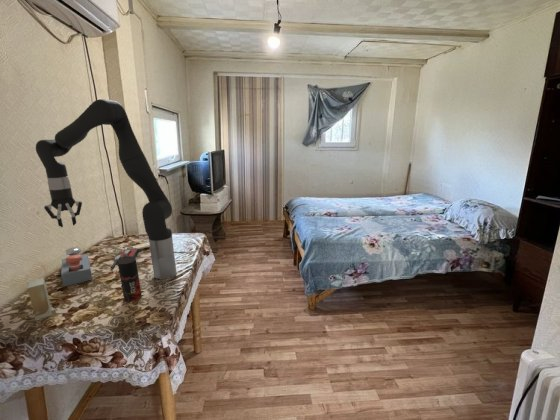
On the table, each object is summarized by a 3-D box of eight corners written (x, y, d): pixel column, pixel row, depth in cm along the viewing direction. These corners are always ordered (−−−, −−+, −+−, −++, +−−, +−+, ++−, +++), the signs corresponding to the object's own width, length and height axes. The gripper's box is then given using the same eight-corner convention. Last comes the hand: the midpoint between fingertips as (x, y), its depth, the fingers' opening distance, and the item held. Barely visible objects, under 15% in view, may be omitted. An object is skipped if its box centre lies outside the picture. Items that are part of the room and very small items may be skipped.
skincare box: (36, 312, 103) (27, 280, 99) (51, 307, 105) (44, 276, 102) (35, 321, 98) (26, 288, 94) (51, 316, 100) (43, 283, 97)
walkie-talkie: (121, 254, 153) (109, 270, 134) (120, 246, 152) (107, 261, 133) (139, 252, 155) (130, 268, 136) (138, 244, 154) (128, 259, 135)
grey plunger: (83, 263, 133) (80, 249, 132) (68, 266, 130) (65, 252, 129) (82, 259, 138) (80, 246, 136) (68, 262, 135) (65, 249, 133)
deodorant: (130, 303, 107) (123, 265, 103) (120, 298, 110) (114, 261, 106) (144, 295, 112) (139, 259, 108) (135, 291, 115) (129, 256, 111)
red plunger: (84, 271, 125) (81, 257, 123) (68, 275, 122) (65, 261, 120) (84, 267, 129) (81, 253, 127) (68, 270, 126) (65, 256, 124)
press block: (92, 279, 125) (90, 268, 124) (63, 286, 120) (61, 275, 119) (89, 263, 141) (87, 253, 140) (64, 269, 136) (61, 259, 134)
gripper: (38, 190, 118) (47, 231, 123) (80, 186, 126) (87, 224, 131) (39, 188, 124) (48, 227, 129) (79, 184, 132) (86, 221, 136)
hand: (68, 225), depth 130 cm, fingers open, 3 cm apart
